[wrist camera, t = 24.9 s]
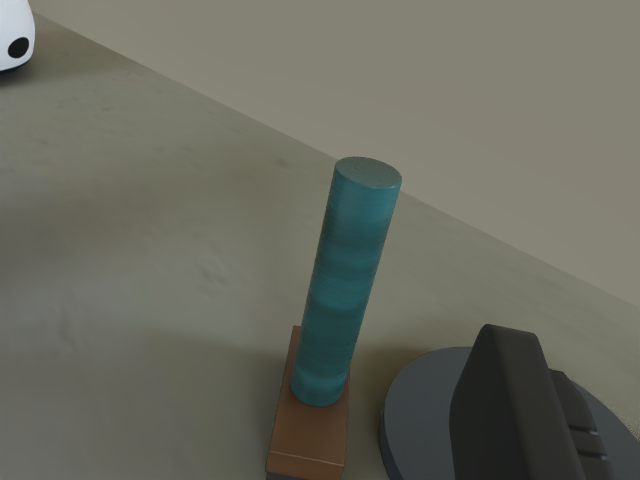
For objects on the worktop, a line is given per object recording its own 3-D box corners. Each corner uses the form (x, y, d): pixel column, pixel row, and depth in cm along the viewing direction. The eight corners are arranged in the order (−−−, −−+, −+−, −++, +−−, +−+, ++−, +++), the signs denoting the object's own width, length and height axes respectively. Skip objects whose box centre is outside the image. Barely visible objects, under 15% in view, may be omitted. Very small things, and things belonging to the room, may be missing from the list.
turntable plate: (332, 384, 34) (336, 369, 34) (523, 343, 41) (529, 330, 40) (493, 658, 23) (503, 643, 23) (718, 541, 30) (731, 527, 29)
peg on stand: (333, 498, 28) (416, 235, 20) (261, 484, 28) (316, 215, 20) (343, 367, 36) (406, 139, 28) (287, 356, 36) (334, 124, 28)
